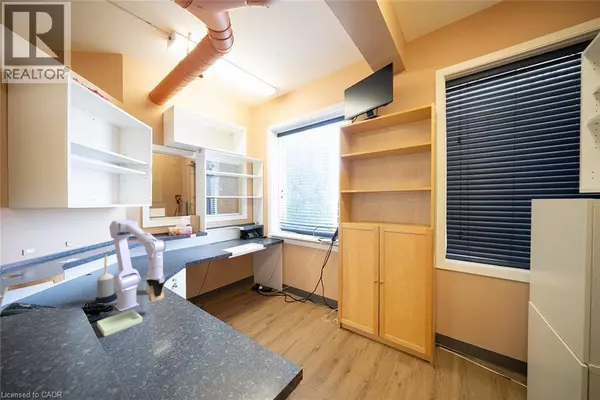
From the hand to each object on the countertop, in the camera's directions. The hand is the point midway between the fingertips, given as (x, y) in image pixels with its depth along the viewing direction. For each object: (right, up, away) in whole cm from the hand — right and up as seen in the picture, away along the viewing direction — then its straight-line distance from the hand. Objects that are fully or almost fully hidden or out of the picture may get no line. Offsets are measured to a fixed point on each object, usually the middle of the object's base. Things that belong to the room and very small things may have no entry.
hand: (156, 294), depth 102 cm
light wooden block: (-18, -10, +25) cm, 33 cm away
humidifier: (-37, -10, +14) cm, 41 cm away
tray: (-9, -9, -9) cm, 16 cm away
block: (0, -2, 0) cm, 2 cm away
